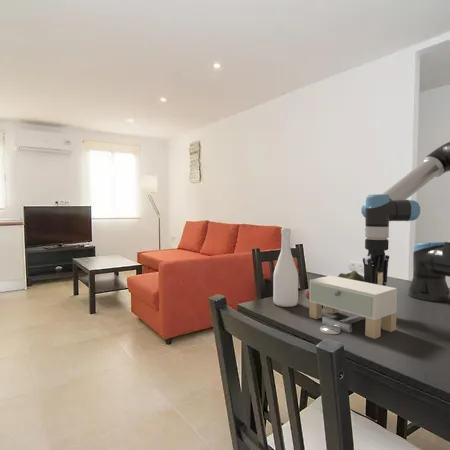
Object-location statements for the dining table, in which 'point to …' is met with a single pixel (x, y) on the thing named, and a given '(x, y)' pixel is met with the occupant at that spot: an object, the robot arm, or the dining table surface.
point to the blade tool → (346, 323)
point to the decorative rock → (352, 276)
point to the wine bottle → (285, 275)
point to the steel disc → (330, 329)
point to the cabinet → (355, 301)
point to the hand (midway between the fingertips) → (375, 304)
